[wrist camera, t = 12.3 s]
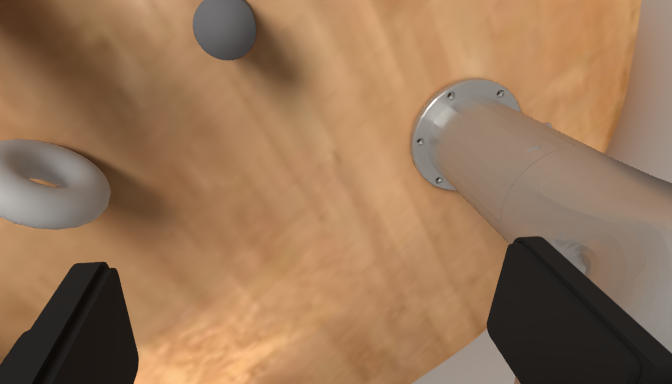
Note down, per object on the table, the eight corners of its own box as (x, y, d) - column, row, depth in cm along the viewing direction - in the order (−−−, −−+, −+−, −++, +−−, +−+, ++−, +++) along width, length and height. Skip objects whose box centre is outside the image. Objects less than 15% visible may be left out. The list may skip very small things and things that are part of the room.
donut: (1, 150, 37) (-75, 203, 28) (12, 117, 36) (-62, 163, 27) (115, 195, 41) (80, 255, 32) (129, 167, 40) (96, 221, 31)
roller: (252, -9, 35) (253, -6, 29) (256, 45, 37) (258, 59, 31) (198, -9, 34) (188, -6, 28) (205, 46, 36) (197, 61, 30)
